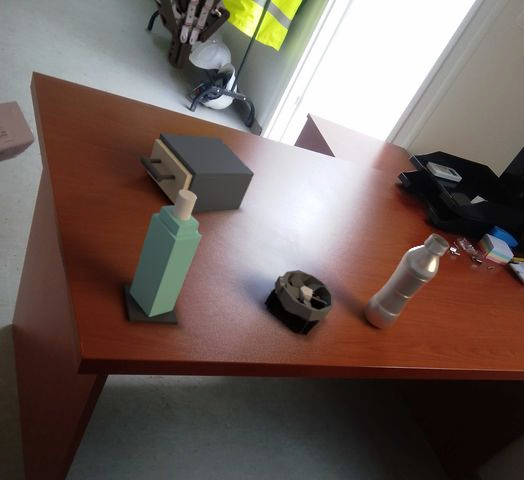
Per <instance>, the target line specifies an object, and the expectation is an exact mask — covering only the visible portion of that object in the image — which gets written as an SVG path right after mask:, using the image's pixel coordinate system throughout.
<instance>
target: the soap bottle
mask: <svg viewBox="0 0 524 480" xmlns="http://www.w3.org/2000/svg"><path fill="white" fill-rule="evenodd" d="M195 201H196V195H195V194H194V193H192V192H191V191H189V190H185V189H182V190H180V191H179V193H178V196H177V199H176V202H175V204H174V205H163V206H161V208H160V210H159V212H156V213H152V216H151V218H150V222H149V225H148V229H147V233H146V236H145V239H144V242H143V246H142V250H141V253H140V255H139V256H140V257H139V260H138V263H137V266H136V270H135V273H134V277H133V280H132V283H131V285H132V287H131V290H130V294H131V295H132V296H133V297H134V299H135V300H136V301H137V303H138V304H139V305H140V306H141V308H142V309H143V310H144V312H145V313H146V314H147V315H148V317H151V316H155V315H158V314H162V313H165V312H169V311H172V310H173V307H174V308H175V305H176V302H177V300H178V297H179V295H180V292H181V289H182V287H183V285H184V281H185V279H186V277H187V274H188V272H189V269H190V266H191V264H192V261H193V259H194V257H195V254H196V252H197V249H198V247H199V244H200V242H201V239H202V235H201V234H200V232H199V231H198V230H199V227H200V223H199V222H198V220H197V219H196V218H194V216H193V215H192V213H193V212H192V209H193V207H194V204H195Z"/></svg>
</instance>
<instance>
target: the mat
mask: <svg viewBox="0 0 524 480" xmlns="http://www.w3.org/2000/svg"><path fill="white" fill-rule="evenodd" d="M131 287H132V284H125V283H124V285H123V292H124V298H125V304H126V310H127V317H128V322H132V323H134V322H135V323H146V324H159V325H161V324H162V325H178V323H179V322H178V316H177V313H176V312H177V311H176V309H175V306H174V307H173V310H172V311H169V312H165V313H162V314H158V315H155V316H151V317H148V315H147V314H146V313H145V312H144V310H143V309H142V308H141V306H140V305H139V304H138V303H137V301H136V300H135V299H134V297H133V296H132V295H131V294H130V290H131Z"/></svg>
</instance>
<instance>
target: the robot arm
mask: <svg viewBox="0 0 524 480" xmlns="http://www.w3.org/2000/svg"><path fill="white" fill-rule="evenodd" d="M154 1H155V5H156V8H157V11H158V15H159V18H160V20H161V21H160V22H161V24H162V26H163V27H164V28H165V29H166V30H167V31H168V32H169V33H170V35H171V40H170V43H169V47H168V52H167V59H168V63H169V65H171V66H172V67H173V68H174V69H178V70H184V69H185V67H186V66H187V64H188V63H189V59H190V56H191V52H192V48H193V46H194V45H195V44H196V43H198V42H201V43H203V44H204V43H206V42H207V41H208V40H209V39H210V38H211V37H212V36H213V35H214V34H215V33H216V32H217V31H218V30H219V29H220V28H221V27H223V25H224V24H225V23H226V22H228V20H229V19H230V17H231V12H230V10H228V9H227V8H226V6H225V3H224V1H223V0H154ZM173 2H174V4H173V6H172V3H173Z"/></svg>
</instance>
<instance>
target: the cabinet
mask: <svg viewBox="0 0 524 480" xmlns="http://www.w3.org/2000/svg"><path fill="white" fill-rule="evenodd" d="M158 139H160V140H161V141H162V142H163V143H164V144H165V145H166V146H168V147H169V148H170V149H171V151H172V152H173V153H174V154H175V155H176V156H177V157H178V158H179V160H180V161H181V162H182V163H183V164H184V165H185V166H186V167H187V169H188V170H189V171H190V172H191V173H192V174H193V176H192V179H191V182H190V185H189V188H188V190H189V191H191V192H192V193H194V194H195V195H196V201H195V204H194V207H193V209H192V212H191V213H203V212H219V211H221V212H222V211H234V210H239V209H240V207H241V204H242V202H243V200H244V198H245V196H246V193H247V191H248V189H249V188H250V187H249V186H250V185H251V182H252V180H253V177H254V175H255V173H254V172H253V171H252V169H251V168H249V166H248V165H247V164H246V163H244V161H243V160H242V159H241V158H240V157H239V156H238V155H237V154H236V153H235V152H234V151H233V150H232V149H231V148H230V147H229V146H228V145H227V144H226V143H225V142H224V140H222V139H221V137H215V136H203V135H190V134H176V133H163V132H161V133H159V137H158Z"/></svg>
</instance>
